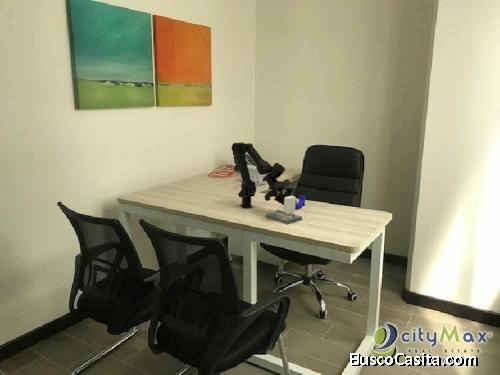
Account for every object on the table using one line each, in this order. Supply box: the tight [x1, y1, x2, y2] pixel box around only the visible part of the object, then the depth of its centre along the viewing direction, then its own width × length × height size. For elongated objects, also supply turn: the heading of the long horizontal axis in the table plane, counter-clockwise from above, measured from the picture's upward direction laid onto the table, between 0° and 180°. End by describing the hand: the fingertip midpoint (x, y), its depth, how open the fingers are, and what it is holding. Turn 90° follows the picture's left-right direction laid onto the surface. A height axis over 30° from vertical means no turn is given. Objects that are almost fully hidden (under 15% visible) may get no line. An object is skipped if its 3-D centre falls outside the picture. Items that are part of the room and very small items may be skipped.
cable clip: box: [295, 195, 306, 211], centre depth 242 cm, size 12×4×6 cm, turn 143°
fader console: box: [265, 208, 303, 225], centre depth 219 cm, size 16×12×3 cm
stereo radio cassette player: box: [240, 159, 267, 186], centre depth 305 cm, size 21×8×20 cm, turn 46°
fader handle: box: [283, 195, 297, 217], centre depth 215 cm, size 3×6×11 cm, turn 132°
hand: (287, 206), depth 216 cm, fingers closed, pressing on fader handle
